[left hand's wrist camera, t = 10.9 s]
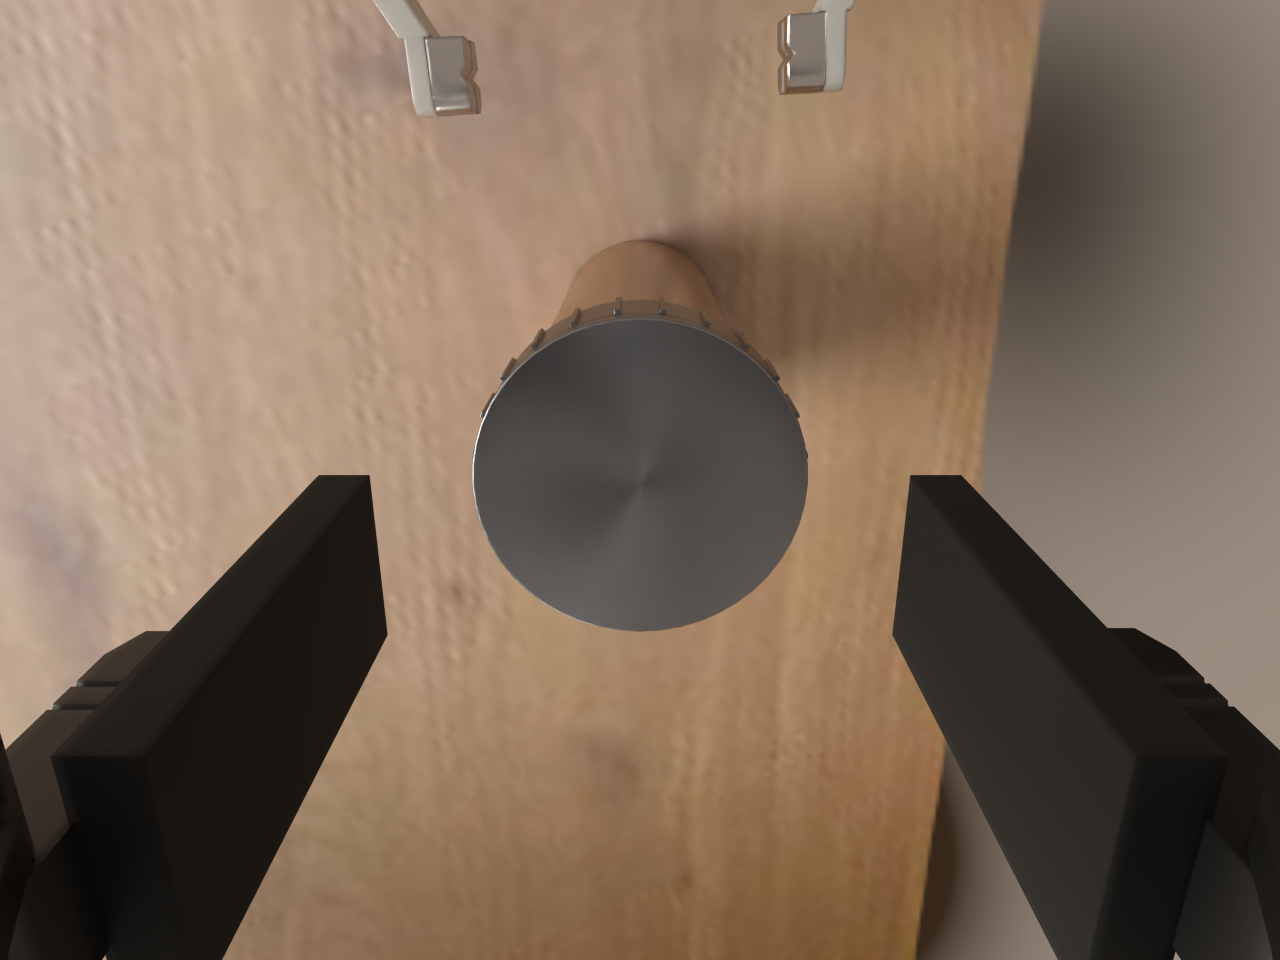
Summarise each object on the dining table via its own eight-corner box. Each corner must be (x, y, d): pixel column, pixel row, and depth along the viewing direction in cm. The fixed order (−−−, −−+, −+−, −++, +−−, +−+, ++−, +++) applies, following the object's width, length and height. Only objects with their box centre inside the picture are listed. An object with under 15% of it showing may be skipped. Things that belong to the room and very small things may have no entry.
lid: (458, 550, 19) (439, 593, 18) (522, 257, 17) (508, 272, 15) (741, 618, 20) (751, 666, 18) (838, 343, 18) (860, 366, 16)
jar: (549, 370, 33) (471, 567, 18) (584, 222, 31) (532, 301, 16) (691, 408, 33) (734, 630, 18) (734, 264, 32) (821, 378, 16)
